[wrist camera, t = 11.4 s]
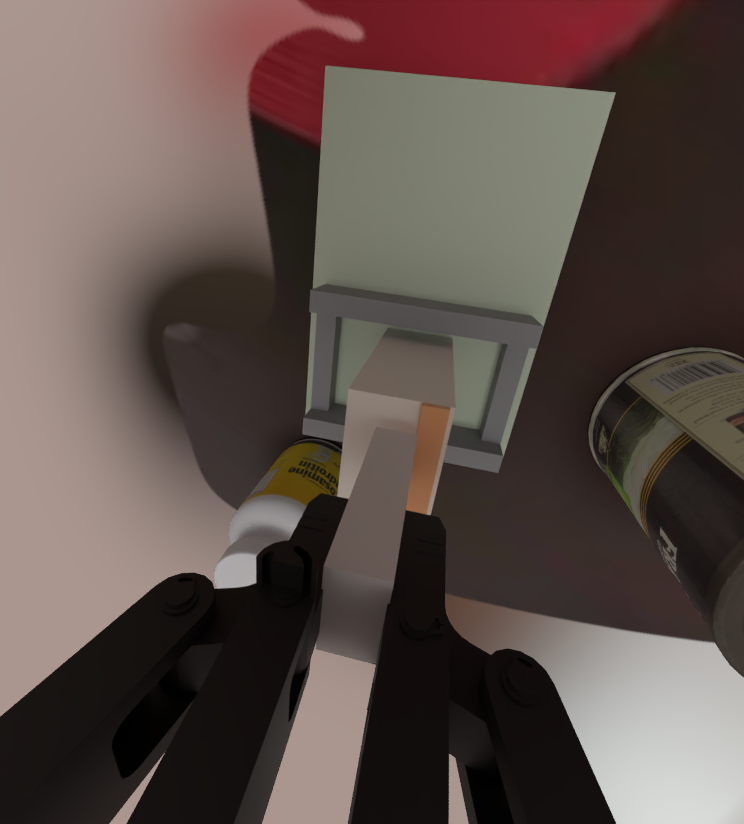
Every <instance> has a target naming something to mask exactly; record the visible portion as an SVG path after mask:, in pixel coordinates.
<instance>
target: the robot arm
mask: <svg viewBox="0 0 744 824" xmlns="http://www.w3.org/2000/svg"><path fill="white" fill-rule="evenodd" d="M416 442H417V434H411V433H406V432H401V431H396V430H391V429H385V428H380V427H376V428H375V431H374V434H373V436H372V439H371V442H370V444H369V447H368V450H367V452H366V455H365V458H364V460H363V463H362V466H361V468H360V471H359V474H358V476H357V479H356V481H355V484H354V487H353V489H352V492H351V495H350V497H349V499H347V498H342V497H337V496H333V495H328V494H323V493H320V494H319V495H318V496H316V497H315V498H314V499H312V500H311V501H310V502H309V503H308V505H307V507H306V509H305V511H304V512H303V514H302V517H301V518H300V520H299V522H298V524H297V527H296V528H295V530H294V532H293V534H292V536H291V537H290V539H289V541H288V540H285V541H280V542H276V543H273V544H271V545H269V546H267V547H265V548H264V549H263V550H262V551H261V552H260V553H259V554H258V555H257V556H256V583H255V584H252V585H249V586H244V587H238V588H219V589H214V587H213V583H212V582H211V581H210V580H209V579H208V578H207V577H206V576H204V575H200V574H197V573H181V574H178V575H175V576H172V577H169V578H167V579H166V580H164V581H162V582H161V583H159V584H158V585H156V586H155V587H154V588H152V589H151V590H150V591H149V592H148V593H147V594H145V595H144V596H143V597H142V598H141V599H140V600H138V601H137V602H136V603H135V604H133V605H132V606H131V607H130V608H129V609H128V610H126V611H125V612H124V613H123V614H122V615H120V616H119V617H118V618H117V619H116V620H115V621H113V622H112V623H111V624H110V625H109V626H107V627H106V628H105V629H104V630H103V631H102V632H100V633H99V634H98V635H97V636H96V637H95V638H93V639H92V640H91V641H90V642H88V643H87V644H86V645H85V646H84V647H82V648H81V649H80V650H79V651H78V652H77V653H75V654H74V655H73V656H72V657H71V658H69V659H68V660H67V661H66V662H65V663H63V664H62V665H61V666H60V667H59V668H58V669H56V670H55V671H54V672H53V673H52V674H50V675H49V676H48V677H47V678H46V679H45V680H43V681H42V682H41V683H40V684H39V685H37V686H36V687H35V688H34V689H33V690H31V691H30V692H29V693H28V694H27V695H25V697H23V698H22V699H21V700H20V701H18V702H17V703H16V704H15V705H14V706H13V707H11V708H10V709H9V710H8V711H7V712H5V713H4V714H3V715H2V716H1V717H0V824H109V823H110V822H111V820H112V819H113V818H114V817H115V816H116V814H117V813H118V812H119V810H120V809H121V808H122V807H123V805H124V804H125V803H126V801H127V800H128V799H129V797H130V796H131V795H132V793H133V792H134V791H135V790H136V789H137V787H138V786H139V785H140V783H141V782H142V781H143V780H144V778H145V777H146V776H147V774H148V773H149V772H150V770H151V769H152V768H153V767H154V765H155V764H156V763H157V762H158V760H159V759H160V758H161V757H162V755H163V754H164V753H165V754H164V756H163V758H162V760H161V761H160V763H159V765H158V767H157V769H156V771H155V772H154V774H153V776H152V778H151V780H150V782H149V783H148V785H147V787H146V789H145V791H144V793H143V795H142V796H141V798H140V800H139V802H138V804H137V806H136V808H135V809H134V811H133V813H132V815H131V817H130V819H129V820H128V822H127V824H262V821H263V818H264V815H265V812H266V809H267V805H268V802H269V799H270V796H271V793H272V790H273V786H274V783H275V780H276V777H277V774H278V771H279V767H280V764H281V761H282V758H283V755H284V752H285V748H286V745H287V742H288V739H289V736H290V732H291V729H292V726H293V723H294V720H295V717H296V713H297V710H298V707H299V704H300V701H301V698H302V694H303V691H304V688H305V685H306V682H307V679H308V675H309V668H310V659H311V656H312V653H313V650H314V647H315V644H316V649H318V650H322V651H325V652H329V653H334V654H338V655H341V656H345V657H349V658H353V659H356V660H361V661H364V662H368V663H372V664H376V668H375V673H374V679H373V683H372V688H371V693H370V698H369V703H368V708H367V710H368V711H367V717H366V722H365V728H364V734H363V740H362V746H361V752H360V757H359V763H358V768H357V774H356V780H355V786H354V792H353V797H352V803H351V808H350V814H349V820H348V824H448V818H449V817H448V816H449V812H448V810H449V808H448V807H449V806H448V805H449V803H448V802H449V800H448V799H449V754H451V755H452V756H454V757H455V758H456V763H457V767H458V772H459V777H460V782H461V787H462V792H463V797H464V802H465V807H466V811H467V817H468V822H469V824H616V822H615V820H614V818H613V816H612V813H611V811H610V809H609V806H608V804H607V802H606V800H605V797H604V795H603V793H602V791H601V788H600V786H599V784H598V782H597V780H596V777H595V775H594V773H593V770H592V768H591V766H590V764H589V761H588V759H587V757H586V755H585V753H584V750H583V748H582V746H581V743H580V741H579V739H578V737H577V734H576V732H575V730H574V728H573V726H572V723H571V721H570V719H569V717H568V714H567V712H566V710H565V707H564V705H563V703H562V701H561V698H560V696H559V694H558V692H557V689H556V687H555V685H554V683H553V681H552V680H551V678H550V676H549V675H548V673H547V672H546V670H545V669H544V668H543V667H542V666H541V665H540V664H539V663H537V661H536V660H534V659H533V658H532V657H530V656H528V655H526V654H524V653H523V652H521V651H516V650H512V649H503V650H498V651H495V652H494V653H493V654H492V655H490V654H488V653H486V652H485V651H483V650H481V649H480V648H478V647H476V646H474V645H473V644H471V643H469V642H468V641H467V640H465V639H464V638H462V637H461V636H460V635H459V634H458V633H457V632H456V631H455V629H454V628H453V626H452V625H451V623H450V622H449V620H448V617H447V615H446V610H445V561H446V560H445V557H446V548H445V546H446V530H445V528H444V526H443V524H442V522H441V520H440V518H439V517H436V516H431V515H427V514H422V513H417V512H413V511H408V510H406V504H407V498H408V492H409V486H410V479H411V473H412V467H413V461H414V454H415V448H416ZM316 641H317V642H316ZM165 751H166V752H165Z"/></svg>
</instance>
